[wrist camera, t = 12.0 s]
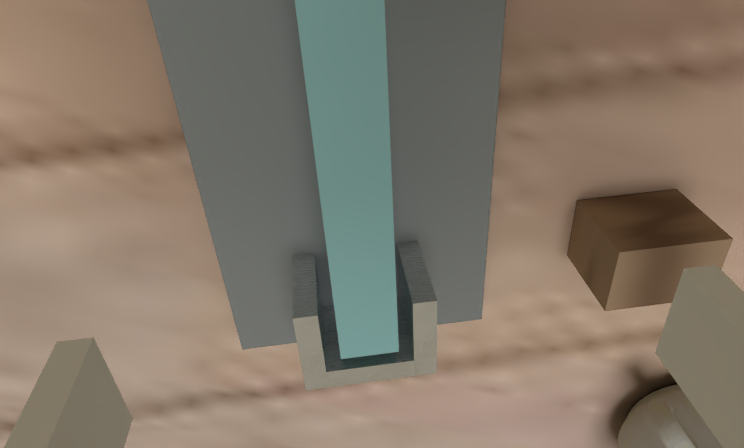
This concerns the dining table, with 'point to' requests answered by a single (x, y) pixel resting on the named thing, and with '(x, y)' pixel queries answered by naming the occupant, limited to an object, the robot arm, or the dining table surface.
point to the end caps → (412, 359)
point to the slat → (353, 165)
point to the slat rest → (642, 246)
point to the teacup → (665, 423)
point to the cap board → (296, 152)
